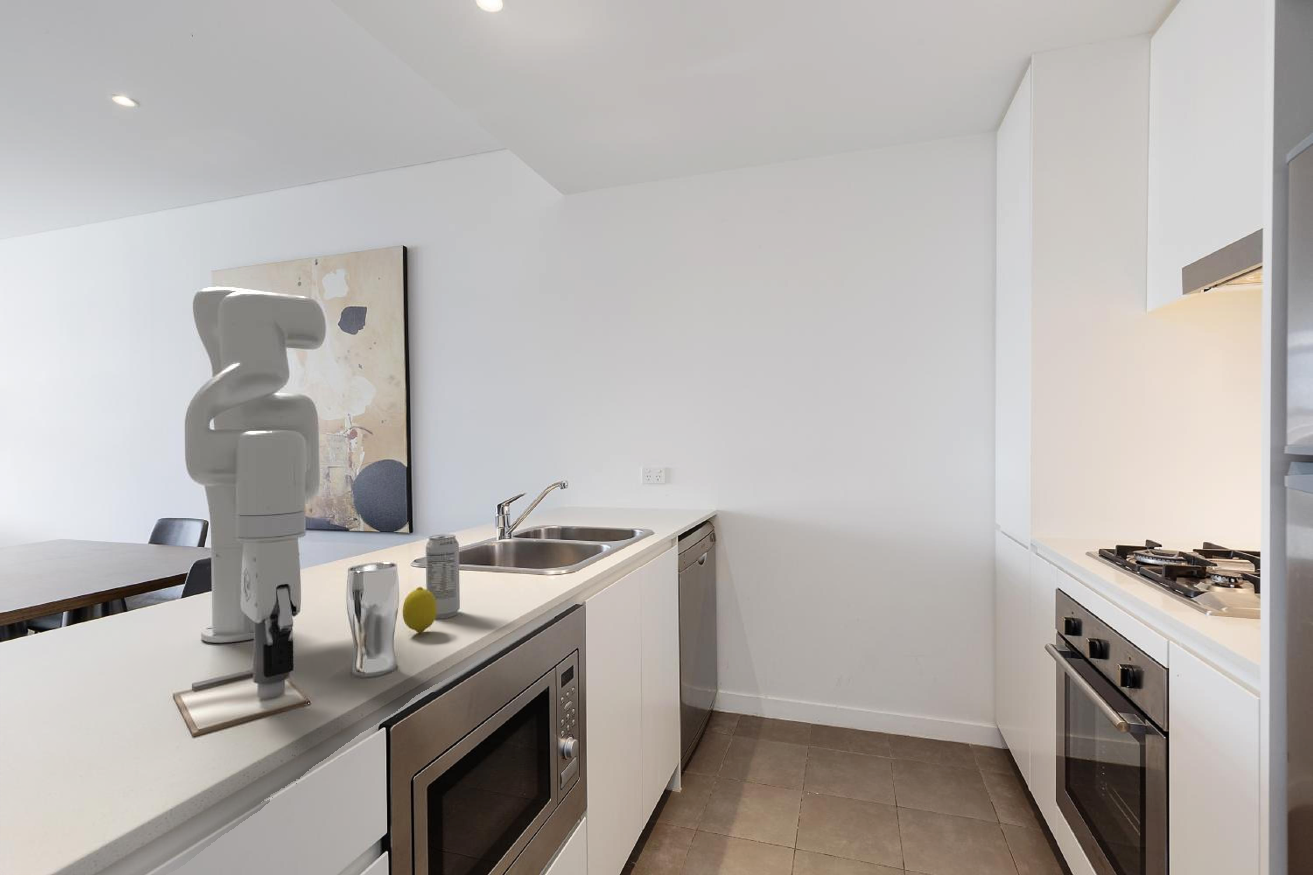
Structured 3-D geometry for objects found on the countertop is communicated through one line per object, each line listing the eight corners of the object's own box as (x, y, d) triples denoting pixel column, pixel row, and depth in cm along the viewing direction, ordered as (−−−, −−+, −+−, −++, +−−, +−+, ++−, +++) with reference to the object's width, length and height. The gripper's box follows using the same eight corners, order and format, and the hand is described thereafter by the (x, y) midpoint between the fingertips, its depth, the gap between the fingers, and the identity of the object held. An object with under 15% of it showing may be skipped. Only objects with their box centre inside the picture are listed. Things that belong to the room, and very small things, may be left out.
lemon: (442, 628, 108) (442, 583, 109) (427, 638, 103) (427, 591, 103) (412, 628, 109) (412, 583, 109) (396, 638, 104) (395, 590, 104)
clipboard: (172, 696, 81) (172, 687, 81) (277, 671, 89) (277, 662, 89) (192, 736, 69) (192, 725, 69) (310, 703, 78) (310, 693, 78)
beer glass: (366, 682, 84) (364, 573, 84) (337, 673, 88) (335, 568, 88) (410, 666, 90) (408, 564, 90) (381, 658, 94) (379, 560, 94)
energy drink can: (463, 610, 120) (462, 533, 120) (454, 618, 114) (453, 538, 114) (433, 610, 120) (432, 534, 120) (421, 619, 114) (420, 539, 114)
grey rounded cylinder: (248, 692, 79) (250, 599, 79) (285, 684, 81) (287, 594, 82) (256, 702, 76) (258, 605, 76) (293, 693, 79) (295, 599, 79)
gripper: (223, 523, 82) (225, 660, 82) (252, 537, 70) (254, 697, 70) (287, 517, 87) (289, 646, 87) (324, 529, 75) (326, 678, 75)
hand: (273, 667), depth 79 cm, fingers closed on grey rounded cylinder, 4 cm apart
